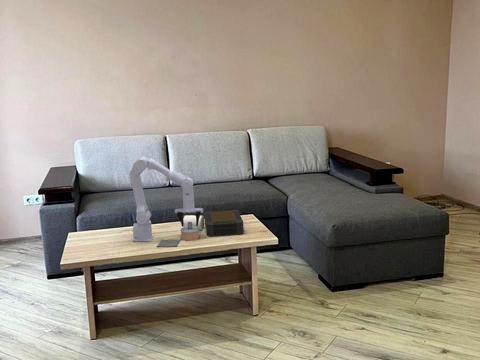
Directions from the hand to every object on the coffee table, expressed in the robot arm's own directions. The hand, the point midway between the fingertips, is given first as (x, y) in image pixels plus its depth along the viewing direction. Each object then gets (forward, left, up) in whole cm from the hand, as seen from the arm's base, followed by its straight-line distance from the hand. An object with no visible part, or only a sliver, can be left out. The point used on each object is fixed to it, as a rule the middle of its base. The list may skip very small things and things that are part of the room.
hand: (190, 225), depth 264 cm
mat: (-10, -9, -7) cm, 15 cm away
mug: (0, +17, -7) cm, 18 cm away
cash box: (+17, +15, -7) cm, 23 cm away
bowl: (0, 0, -7) cm, 7 cm away
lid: (0, 0, -3) cm, 3 cm away
